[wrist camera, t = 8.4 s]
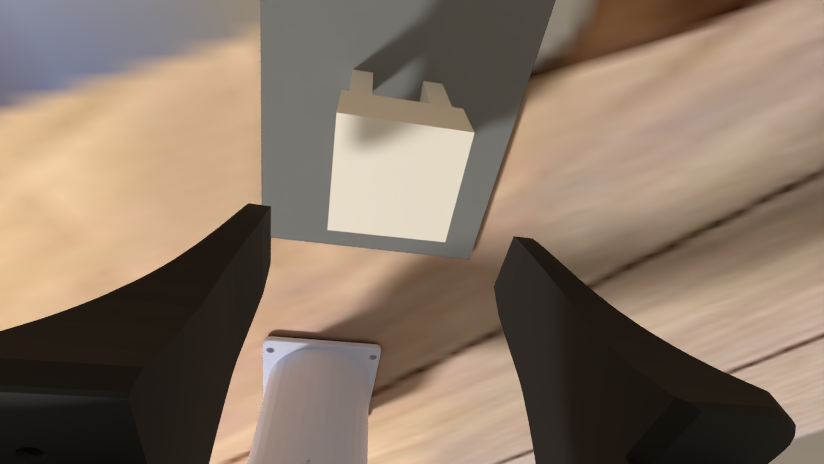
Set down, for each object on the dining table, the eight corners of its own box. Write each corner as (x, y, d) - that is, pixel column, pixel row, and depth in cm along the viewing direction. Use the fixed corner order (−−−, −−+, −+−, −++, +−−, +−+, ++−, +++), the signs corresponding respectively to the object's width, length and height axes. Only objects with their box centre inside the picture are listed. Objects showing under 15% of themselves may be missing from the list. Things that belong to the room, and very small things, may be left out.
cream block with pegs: (448, 79, 20) (474, 132, 15) (429, 169, 22) (445, 242, 17) (347, 62, 19) (336, 112, 14) (339, 157, 22) (327, 230, 16)
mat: (467, 253, 26) (469, 259, 26) (264, 230, 24) (261, 236, 24) (559, -28, 18) (564, -27, 18) (263, -95, 16) (259, -96, 16)
